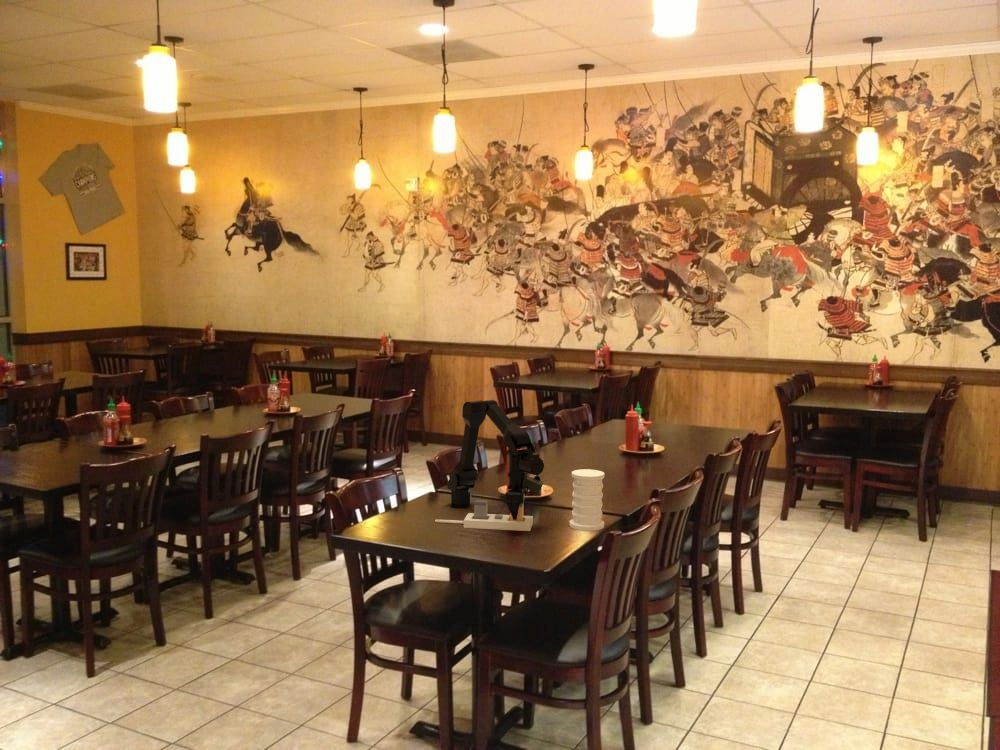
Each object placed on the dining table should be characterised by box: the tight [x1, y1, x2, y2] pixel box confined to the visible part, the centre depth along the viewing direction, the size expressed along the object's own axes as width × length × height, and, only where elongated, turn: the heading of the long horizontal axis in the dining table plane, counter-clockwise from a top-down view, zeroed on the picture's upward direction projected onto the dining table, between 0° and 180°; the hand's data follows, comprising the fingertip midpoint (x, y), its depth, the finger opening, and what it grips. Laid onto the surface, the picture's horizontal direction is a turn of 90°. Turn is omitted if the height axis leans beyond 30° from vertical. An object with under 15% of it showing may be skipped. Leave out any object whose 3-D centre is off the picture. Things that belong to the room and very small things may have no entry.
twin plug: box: [473, 499, 489, 520], centre depth 293 cm, size 4×3×8 cm
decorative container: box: [568, 468, 605, 532], centre depth 293 cm, size 12×12×18 cm
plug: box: [509, 501, 525, 521], centre depth 292 cm, size 4×3×8 cm
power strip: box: [434, 512, 534, 532], centre depth 293 cm, size 32×9×3 cm, turn 82°
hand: (516, 515), depth 292 cm, fingers open, 9 cm apart
